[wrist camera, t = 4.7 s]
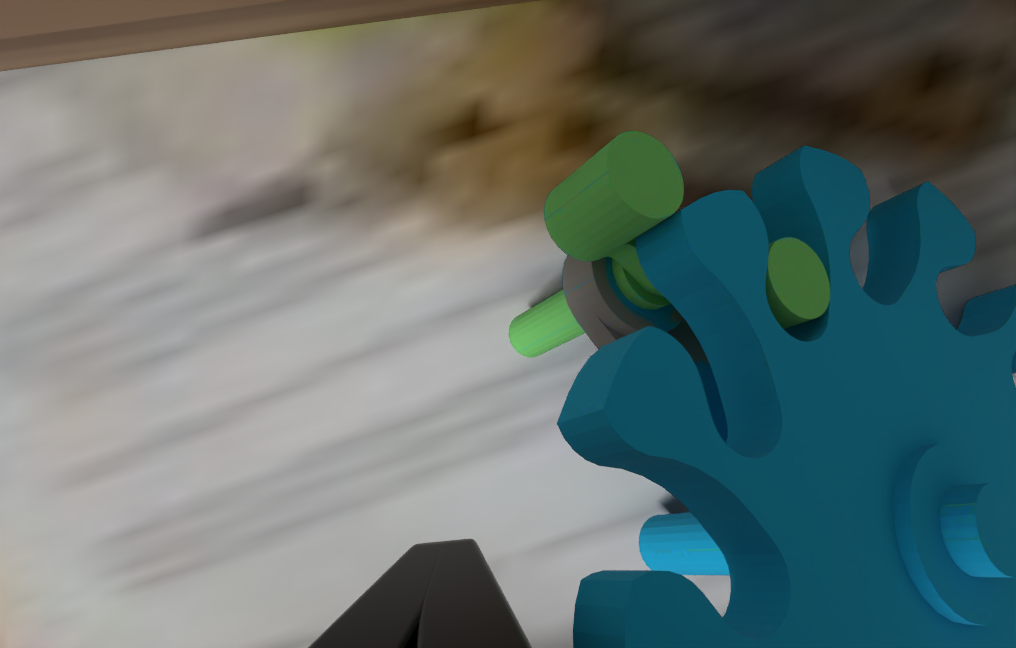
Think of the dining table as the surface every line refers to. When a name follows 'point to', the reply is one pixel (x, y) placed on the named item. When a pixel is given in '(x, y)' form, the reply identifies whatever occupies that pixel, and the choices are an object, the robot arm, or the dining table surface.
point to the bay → (180, 23)
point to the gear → (786, 407)
